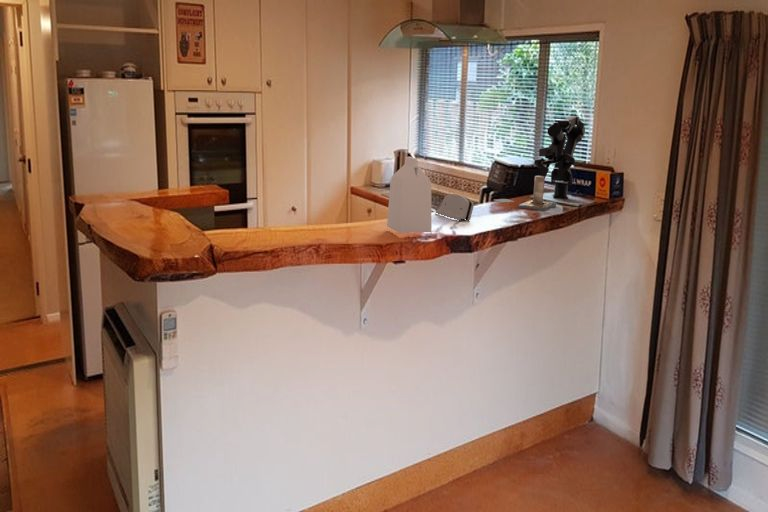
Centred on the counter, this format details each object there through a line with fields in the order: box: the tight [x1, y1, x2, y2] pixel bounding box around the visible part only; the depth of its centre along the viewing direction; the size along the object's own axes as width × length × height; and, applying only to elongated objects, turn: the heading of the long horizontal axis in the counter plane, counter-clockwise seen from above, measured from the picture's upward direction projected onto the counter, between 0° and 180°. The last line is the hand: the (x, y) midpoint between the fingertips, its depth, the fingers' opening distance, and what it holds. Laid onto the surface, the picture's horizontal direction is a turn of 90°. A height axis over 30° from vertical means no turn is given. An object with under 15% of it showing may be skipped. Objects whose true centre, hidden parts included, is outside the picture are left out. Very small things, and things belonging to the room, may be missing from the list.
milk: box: [386, 156, 432, 233], centre depth 231 cm, size 12×12×26 cm
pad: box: [494, 198, 516, 203], centre depth 301 cm, size 7×7×1 cm
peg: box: [532, 175, 546, 205], centre depth 287 cm, size 4×4×13 cm
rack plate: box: [518, 199, 557, 212], centre depth 289 cm, size 16×11×2 cm
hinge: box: [435, 193, 475, 221], centre depth 263 cm, size 17×5×10 cm, turn 29°
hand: (550, 179), depth 296 cm, fingers open, 9 cm apart
